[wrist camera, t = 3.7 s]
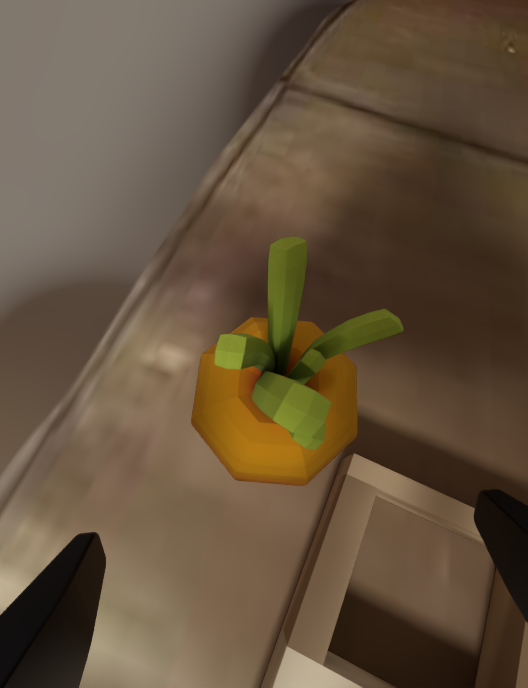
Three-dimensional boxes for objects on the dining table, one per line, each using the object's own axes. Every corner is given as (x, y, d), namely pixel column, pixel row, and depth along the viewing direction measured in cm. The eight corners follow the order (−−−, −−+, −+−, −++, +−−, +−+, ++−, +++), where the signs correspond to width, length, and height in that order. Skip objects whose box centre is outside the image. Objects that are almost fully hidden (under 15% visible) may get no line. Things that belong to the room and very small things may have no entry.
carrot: (246, 383, 21) (232, 166, 7) (326, 423, 20) (479, 267, 7) (201, 465, 20) (72, 383, 6) (287, 512, 19) (383, 552, 5)
